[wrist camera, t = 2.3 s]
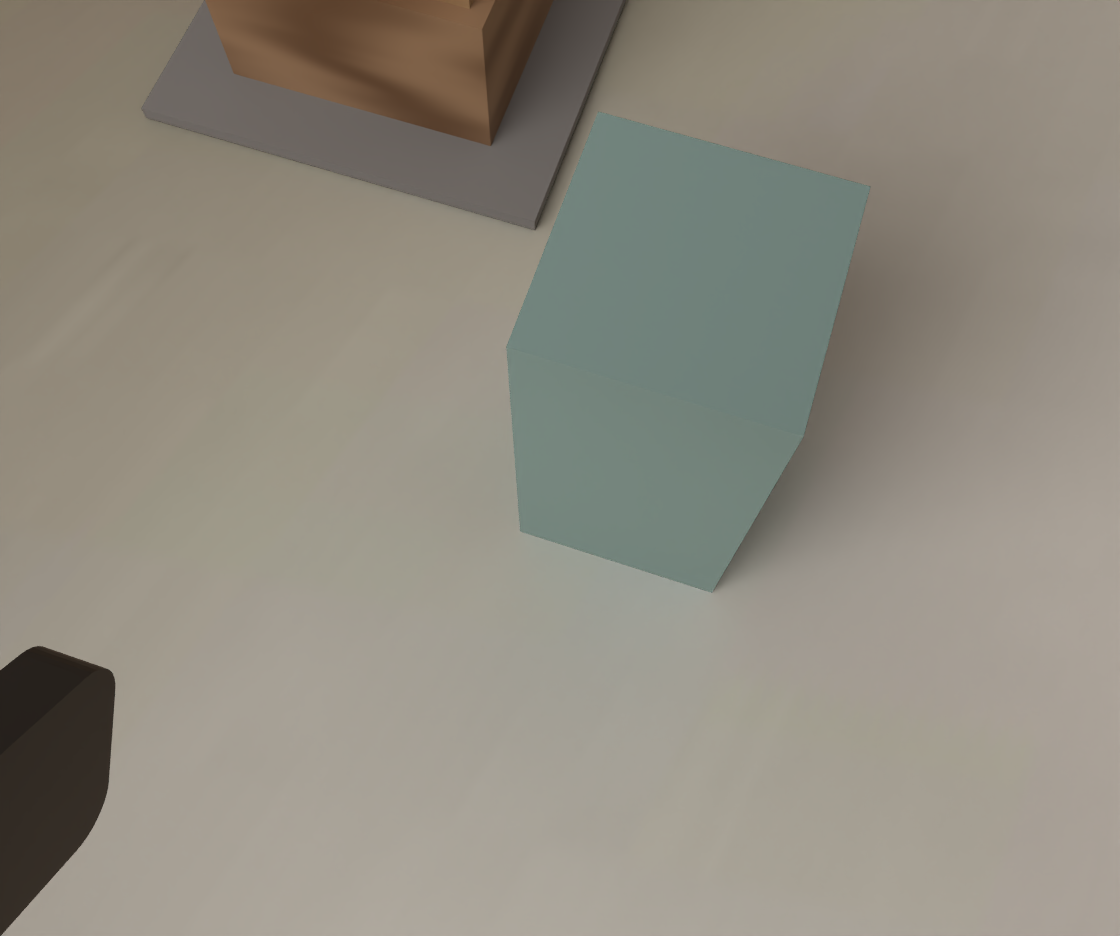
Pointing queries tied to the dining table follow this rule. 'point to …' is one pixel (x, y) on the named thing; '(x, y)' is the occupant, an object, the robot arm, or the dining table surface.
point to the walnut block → (389, 55)
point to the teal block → (673, 346)
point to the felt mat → (395, 146)
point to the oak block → (459, 3)
